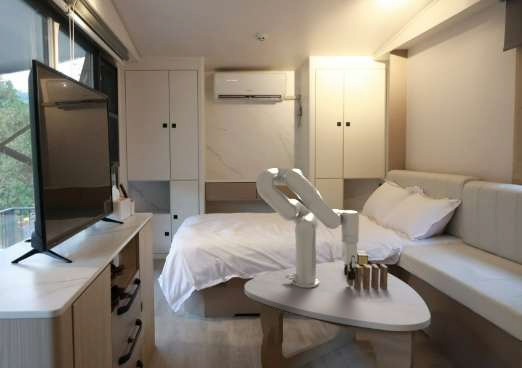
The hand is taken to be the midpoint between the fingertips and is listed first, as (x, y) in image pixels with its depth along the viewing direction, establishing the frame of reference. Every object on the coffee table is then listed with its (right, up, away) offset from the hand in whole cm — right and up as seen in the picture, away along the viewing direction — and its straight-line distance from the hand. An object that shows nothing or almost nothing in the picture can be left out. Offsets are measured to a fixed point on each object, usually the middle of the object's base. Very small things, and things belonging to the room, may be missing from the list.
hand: (349, 276), depth 159 cm
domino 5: (+16, -5, +1) cm, 17 cm away
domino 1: (0, -3, 0) cm, 4 cm away
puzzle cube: (+9, -3, +22) cm, 24 cm away
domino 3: (+8, -5, +1) cm, 9 cm away
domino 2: (+4, -5, +1) cm, 6 cm away
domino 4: (+12, -5, +1) cm, 13 cm away
